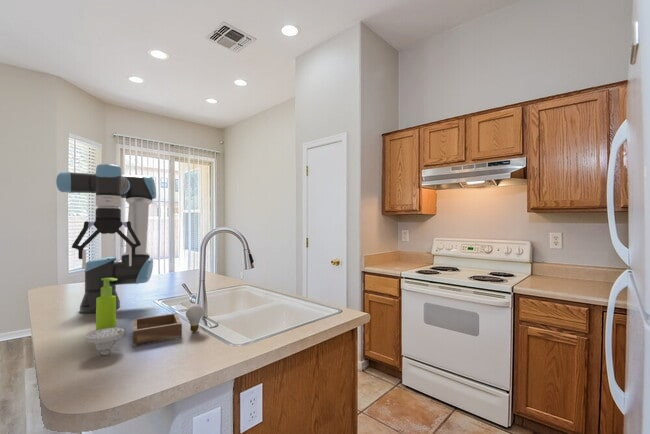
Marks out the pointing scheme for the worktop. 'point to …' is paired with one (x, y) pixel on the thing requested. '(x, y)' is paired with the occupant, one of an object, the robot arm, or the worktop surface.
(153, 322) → the wooden box
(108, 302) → the soap dispenser
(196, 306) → the light bulb
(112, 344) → the showerhead
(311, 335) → the worktop surface
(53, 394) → the worktop surface
